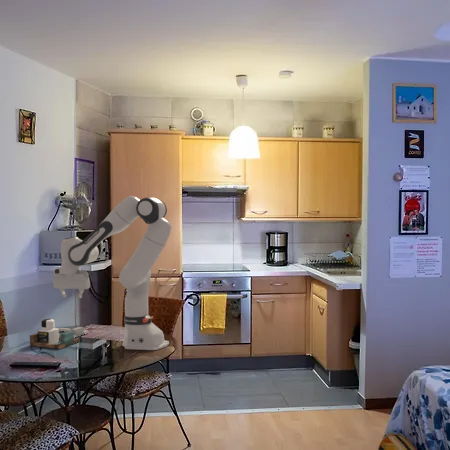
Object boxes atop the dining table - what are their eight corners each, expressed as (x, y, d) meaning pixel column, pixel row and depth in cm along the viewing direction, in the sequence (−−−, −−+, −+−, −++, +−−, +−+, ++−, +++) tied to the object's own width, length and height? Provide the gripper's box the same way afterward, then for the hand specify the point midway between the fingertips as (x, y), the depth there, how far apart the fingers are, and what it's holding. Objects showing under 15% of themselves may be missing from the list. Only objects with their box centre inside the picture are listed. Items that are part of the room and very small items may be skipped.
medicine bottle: (37, 344, 231) (36, 320, 231) (48, 341, 237) (47, 317, 237) (48, 346, 228) (48, 321, 228) (59, 342, 235) (58, 318, 234)
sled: (79, 341, 234) (79, 329, 234) (59, 349, 222) (59, 336, 222) (50, 338, 242) (50, 327, 241) (29, 345, 229) (29, 333, 229)
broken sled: (88, 333, 252) (88, 325, 252) (70, 339, 239) (70, 331, 239) (60, 330, 259) (60, 323, 259) (42, 336, 247) (41, 328, 247)
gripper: (92, 269, 232) (93, 297, 232) (59, 268, 240) (60, 295, 240) (84, 270, 226) (84, 299, 227) (50, 270, 234) (51, 298, 234)
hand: (72, 297), depth 233 cm, fingers open, 8 cm apart
